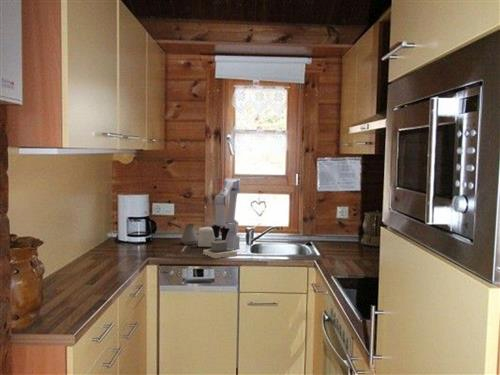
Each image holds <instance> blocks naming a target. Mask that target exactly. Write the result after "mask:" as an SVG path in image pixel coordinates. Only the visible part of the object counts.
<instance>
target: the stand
mask: <svg viewBox="0 0 500 375" xmlns="http://www.w3.org/2000/svg"><path fill="white" fill-rule="evenodd" d="M202 254H203V255H204V254H205V256H207V255H208V256H207V257H209V256H210V257H209V258H213V259H221V257H223V258H230V257H229V256H231V257H237V256H238V251H236V250H235V249H227V250H226V251H218V252H215V251H212V250H211V248H210V249H209V248H208V249H203V250H202Z"/></svg>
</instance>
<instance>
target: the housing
mask: <svg viewBox="0 0 500 375" xmlns="http://www.w3.org/2000/svg"><path fill="white" fill-rule="evenodd" d="M210 249H211V250H212V251H215V252H218V251H226V250H227V242H225V241H224V240H219V241H218V240H217V241H214V242H212V243H211V247H210Z"/></svg>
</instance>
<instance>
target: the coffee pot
mask: <svg viewBox="0 0 500 375" xmlns="http://www.w3.org/2000/svg"><path fill="white" fill-rule="evenodd" d="M168 225H169V227H171V226H174V227H177V228H179V229H182V230H184V232H183V233H182V236H181V238H180V242H181V243H183V245H185V246H193V245H196V243H197V244H198V235H197V232H196V230H195V226H196V224H194V223H185V224H184V226H185V227H183V226H180V225H178V224H175V223H173V222H170V223H169V224H168Z"/></svg>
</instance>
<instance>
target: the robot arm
mask: <svg viewBox="0 0 500 375" xmlns="http://www.w3.org/2000/svg"><path fill="white" fill-rule="evenodd" d="M223 185H224V186H223V188H221V190H220V192H219V193H218V195H216V196H215V198H214V207H215V221H212V225H211V228H212V229H213V232H214V239H217V238H219V237H220V235H221V241H225V242H227V249H230V250H235V249H237V250H238V249H240V248H241V247H240V236H239V229H240V228H239V222H238V220H236V219H235V218H236V210H237V209H236V208H237V197H238V194H239V193H241V189H242V182H241V179H240V178H227V177H225V179H224V180H223ZM227 204H228V208H227ZM226 209H227V210H226ZM226 214H227V215H226Z"/></svg>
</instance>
